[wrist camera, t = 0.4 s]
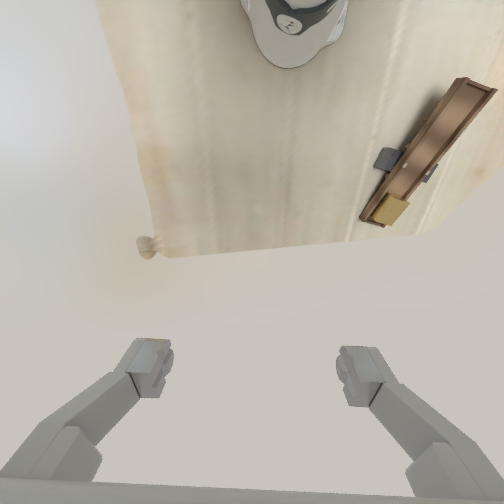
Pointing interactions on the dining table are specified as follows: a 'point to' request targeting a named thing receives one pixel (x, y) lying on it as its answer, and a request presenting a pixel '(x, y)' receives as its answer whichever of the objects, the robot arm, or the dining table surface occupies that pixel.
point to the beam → (432, 140)
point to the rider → (389, 208)
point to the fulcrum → (393, 161)
